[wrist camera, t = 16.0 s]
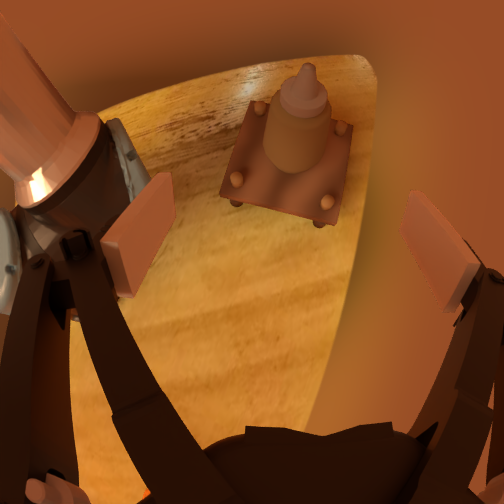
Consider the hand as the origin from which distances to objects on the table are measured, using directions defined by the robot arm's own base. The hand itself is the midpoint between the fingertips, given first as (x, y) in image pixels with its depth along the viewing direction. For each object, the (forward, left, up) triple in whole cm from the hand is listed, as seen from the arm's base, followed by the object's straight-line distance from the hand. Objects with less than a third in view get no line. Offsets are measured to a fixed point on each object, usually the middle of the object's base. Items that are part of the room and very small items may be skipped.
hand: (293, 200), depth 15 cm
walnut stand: (-6, +13, -29) cm, 32 cm away
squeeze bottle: (-6, +13, -23) cm, 27 cm away
